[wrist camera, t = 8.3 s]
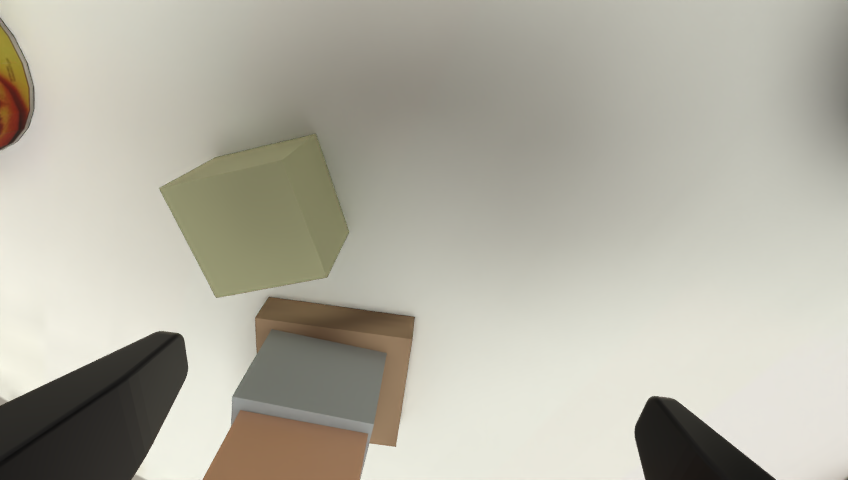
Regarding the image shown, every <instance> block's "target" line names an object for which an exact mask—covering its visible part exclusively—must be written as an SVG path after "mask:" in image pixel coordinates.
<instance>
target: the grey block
mask: <svg viewBox="0 0 848 480" xmlns="http://www.w3.org/2000/svg"><path fill="white" fill-rule="evenodd" d="M386 355H387V353H384V352H379V351H375V350H370V349H365V348H360V347H355V346H351V345H346V344H341V343H336V342H331V341H326V340H322V339H317V338H312V337H307V336H302V335H297V334H293V333H288V332H283V331H278V330H273V329H271V331H270V333H269V335H268V336H267V338H266V340H265V341H264V343H263V345H262V347H261V348H260V350H259V352H258V353H257V355H256V357H255V359H254V360H253V362H252V364H251V365H250V367H249V369H248V370H247V372H246V374H245V376H244V377H243V379H242V381H241V382H240V384H239V386H238V388H237V389H236V391H235V393H234V394H233V396H232V418H231V426H232V424H233V422H234V421H235V419H236V417H237V415H238V413H239V411H240V410H243V411H248V412H253V413H259V414H264V415H270V416H275V417H281V418H286V419H292V420H297V421H302V422H308V423H313V424H319V425H324V426H330V427H335V428H341V429H346V430H351V431H357V432H362V433H368V438H367V443H366V448H365V454H364V459H363V464H362V470H363V466H364V462H365V458H366V454H367V450H368V446H369V442H370V438H371V434H372V430H373V426H374V421H375V415H376V410H377V404H378V399H379V393H380V388H381V382H382V377H383V371H384V366H385V360H386ZM362 470H361V474H362ZM360 478H361V475H360Z"/></svg>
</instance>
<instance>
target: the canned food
mask: <svg viewBox="0 0 848 480" xmlns="http://www.w3.org/2000/svg"><path fill="white" fill-rule="evenodd" d="M33 110H34V95H33V84H32V80H31V77H30V73H29V69H28V66H27V62H26V60H25V58H24V56H23V54H22V52H21V50H20V48H19V46H18V44H17V42H16V40H15V39H14V37H13V35H12V34H11V33H10V31H9V30H8V29H7V27H6V26H5V25H4V23H3V22H2V21H1V19H0V151H1V150H3V149H5V148H6V147H8V146H10V145H12V144H14V143H16V142H17V141H18V140H19V139H20V137H21V136H22V135H23V134H24V132H25V131H26V130H27V129H28V126H29V123H30V120H31V117H32V113H33Z"/></svg>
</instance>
